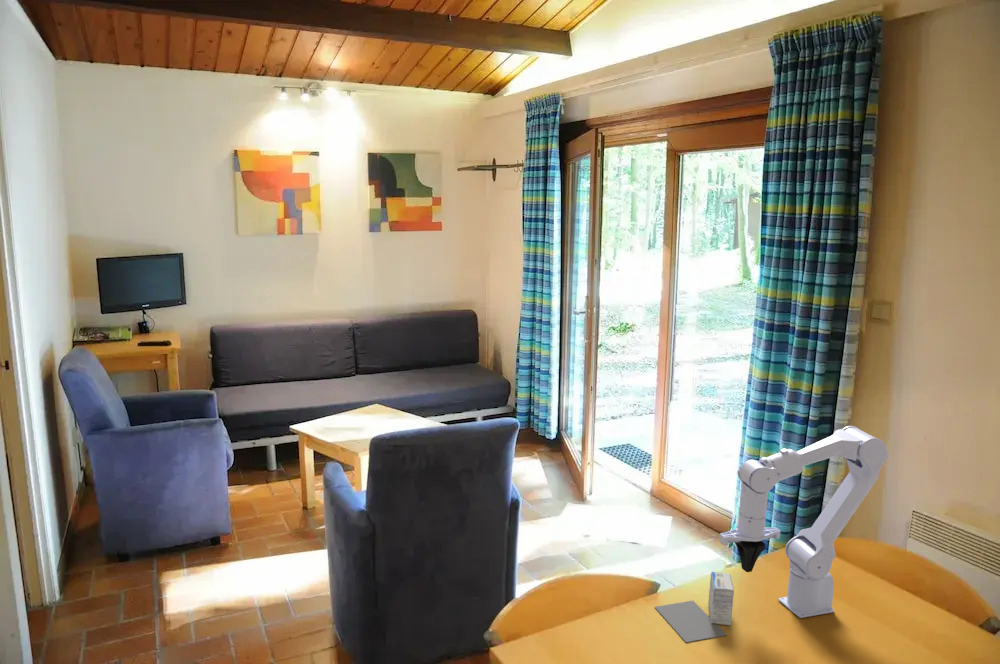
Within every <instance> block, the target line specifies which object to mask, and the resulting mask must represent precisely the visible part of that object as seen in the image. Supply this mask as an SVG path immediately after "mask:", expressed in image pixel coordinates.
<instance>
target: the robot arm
mask: <svg viewBox="0 0 1000 664" xmlns="http://www.w3.org/2000/svg"><path fill="white" fill-rule="evenodd" d="M833 457H840V458H841V457H842V458H845V460H846V463H847V467H848V470H849V472H848V474H847V475H846V476H845V478H844V479H843V481H842V482H841V484H840V485H839V486H838V488H837V489H836V491H835V492H834V493H833V495H832V497H831V498H830V500H829V501H828V503H827V504H826V505H825V507H824V508H823V510H822V512H821V513H820V514H819V516H818V517H817V518H816V519H815V521H814V522H813V524H812V525H811V527H808V528H803V529H801V530H799V532H798V533H797V534H796V535H795V536H793V537H792V538H791V539H789V541H787V543H786V544H785V549H784V551H785V555H786V557H787V558H788V560H789V574H788V584H787V595H786V596H784V597H783V596H782V597H779V598H778V602H780V603H781V604H782V605H784V606H785V607H786V608H787V609H788V610H789V611H791V612H792V613H793V614H795V615H796V616H797V618H800V619H802V618H807V617H808V618H809V617H813V616H819V615H825V614H833V613H835V609H834V607H833V601H834V599H833V598H834V591H835V582H834V579H833V576H832V574H831V569H832V563H833V561H834V560H835V559H836V557H837V554H836V549H835V548H836V547H835V541H836V540H837V538H838V537H839V536H840V534H841V533H842V531H843V530H844V529H845V527H846V525H847V524H848V522H849V521H851V518H852V517H853V515H854V514H855V513H856V511H857V510H858V508H859V507H860V505H861V504H862V502H863V501H864V500H865V498H866V497H867V495H868V493H869V492H870V491H871V489H872V488H873V487H874V485H875V484H876V483H877V481H878V479H879V476H880V472H881V469H882V467H883V465H884V463H885V462H886V460H887V459H888V458H889V454H888V449H887V446H886V444H885V442H884V441H883V440H882V439H881V438H877V437H875V436H873V435H871V434H869V433H868V432H865V431H864V430H861V429H860V428H859V427H857V426H854V425H847V426H845V427H843V428H840V429H839V428H838V429H836V430H835V431H834V432H833V434H831V435H830V436H827V437H826V438H823V439H821V440H819V441H816V442H815V443H812V444H810V445H808V446H805V447H803V448H802V449H800V450H797V451H796V450H793V449H791V448H786V447H784V448H782V449H780V450H779V452H777V453H774V454H772V455H769V456H766V457H765V456H763V457H761V458H760V459H759V460H756V459H749V460H747V461H745V462H744V463H742V464H741V466H740V468H739V469H738V470H737V473H736V474H737V477H738V479H739V480H740V484H741V485H740V487H741V488H740V489H741V490H740V497H739V498H740V500H739V509H738V520H737V525H736V528H734V529H731V530H728V531H726V532H722V533H719V543H720V544H722V545H724V546H728V545H729V544H732V543H733V544H735V546H736V550H737V551H738V555H739V558H740V566H741V569H742V570H743V571H744V572H746V573H752V572H753V569H754V567H755V565H756V562H757V561H758V559H759V557H760V556H761V554H762V553H763V552H764V550H765V549H766V543H765V542H763V540H764V541H765V540H767V539H775V540H779V539H780V538H781V530H780V529H779V528H777V527H776V526H774V527H768V526H767V527H766V517H767V510H768V509H767V507H768V501H769V500H768V499H769V492H770V491H771V490H772V489H773V488H774V487H775V485H776V484H778V483H779V482H781V481H784V480H786V479H788V478H791V477H793V476H797V475H799V474H801V473H802V472H803V469H804V467H805V466H808V465H811V464H815V463H817V462H821V461H825V460H828V459H831V458H833Z"/></svg>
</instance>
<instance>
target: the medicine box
mask: <svg viewBox="0 0 1000 664" xmlns="http://www.w3.org/2000/svg"><path fill="white" fill-rule="evenodd" d="M709 580H710V581H709V591H708V592H709V593H708V602H707V603H708V604H707V605H708V609H709V611H708V612H709V617H710V618H711V623H715V624H717V625H722V626H723V625H724V626H731V625H732V620H733V619H732V617H733V616H732V615H733V608H734V607H733V606H734V595H735V590H734V589H735V588H734V586H733V585H734V584H733V580H732V575H731V573H727V572H718V571H711V573H710V579H709Z"/></svg>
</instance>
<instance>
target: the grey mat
mask: <svg viewBox="0 0 1000 664" xmlns="http://www.w3.org/2000/svg"><path fill="white" fill-rule="evenodd" d="M654 608H655V610H656V611H657V612H658V613H659V615H661V617H663V619H664V620H665V621H666V622H667V623H668V624H669V626H670V627H672V629H673V630H674V632H676V634H677V635H679V636H680V638H681V639H682V640H683V641H684V642H685V644H686V643H693V642H698V641H704V640H710V639H714V638H715V639H716V638H719V637H725V636H728V634H727V633H726V632H725V631H724V630H723V629H722V628H721V627H720V626H719V624H715V623H711V618H710V615H709V614H707V613H706V612H705V611H704V609H702V607H700V606H699V604H697V603H696V602H695V601H694V600H689V601H687V600H686V601H682V602H676V603H670V604H669V603H668V604H665V605H664V604H663V605H658V606H654Z"/></svg>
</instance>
